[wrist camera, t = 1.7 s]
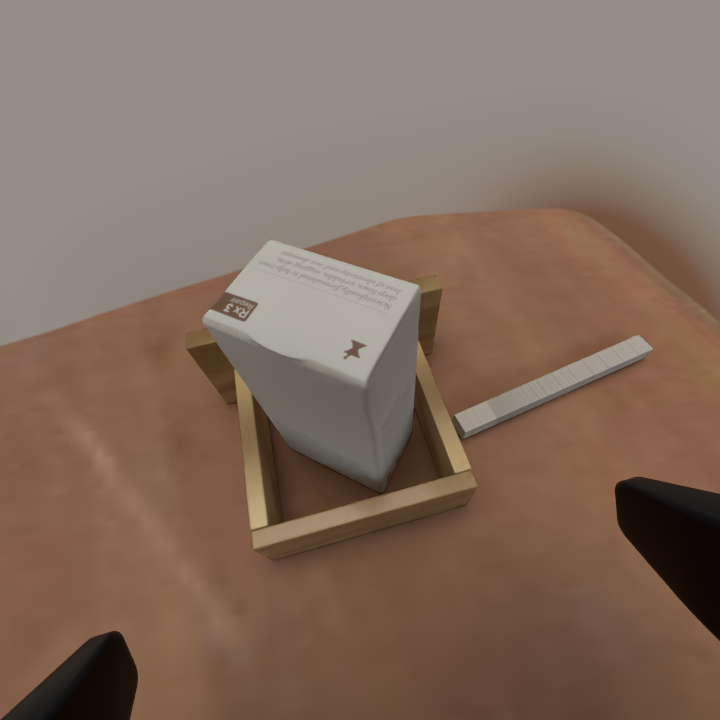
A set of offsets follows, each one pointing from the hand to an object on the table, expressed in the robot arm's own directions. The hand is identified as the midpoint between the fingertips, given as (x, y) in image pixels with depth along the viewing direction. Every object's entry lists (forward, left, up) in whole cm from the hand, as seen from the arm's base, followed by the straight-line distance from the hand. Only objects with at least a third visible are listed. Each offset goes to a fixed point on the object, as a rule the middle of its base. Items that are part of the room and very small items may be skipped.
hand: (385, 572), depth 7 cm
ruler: (+1, -14, -14) cm, 20 cm away
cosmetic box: (+7, -4, -14) cm, 16 cm away
